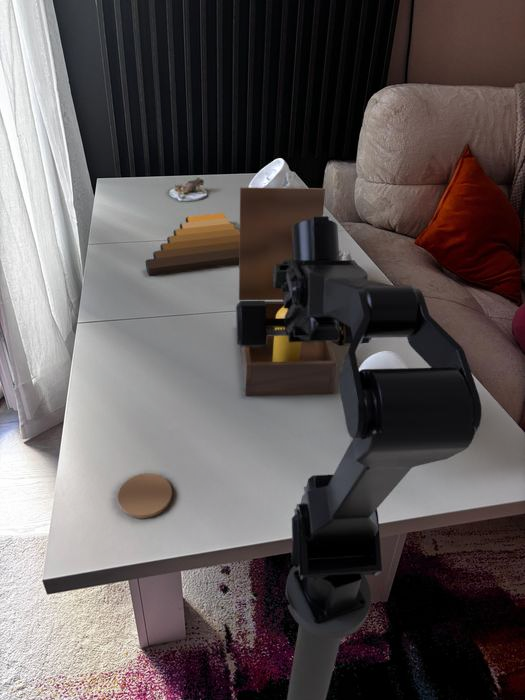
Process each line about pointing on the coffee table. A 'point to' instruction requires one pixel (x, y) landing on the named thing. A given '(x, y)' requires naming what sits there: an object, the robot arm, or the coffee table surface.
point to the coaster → (145, 495)
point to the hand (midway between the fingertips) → (294, 334)
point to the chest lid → (270, 234)
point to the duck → (285, 345)
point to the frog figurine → (189, 191)
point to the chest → (288, 367)
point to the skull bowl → (275, 176)
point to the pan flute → (197, 246)
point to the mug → (383, 361)
